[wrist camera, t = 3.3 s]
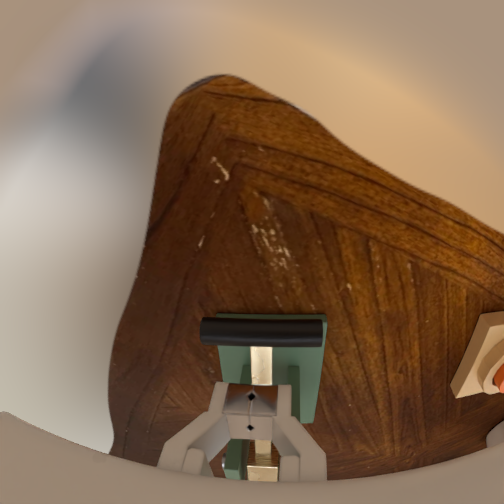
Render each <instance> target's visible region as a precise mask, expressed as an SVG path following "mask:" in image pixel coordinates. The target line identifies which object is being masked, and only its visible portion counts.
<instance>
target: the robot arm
mask: <svg viewBox="0 0 504 504" xmlns="http://www.w3.org/2000/svg"><path fill="white" fill-rule="evenodd" d="M230 438H232V439H253V440H268V441H272V442H273V444H274V445H275V447H276V448H277V450H278V452H279V453H280V455H281V456H282V458H281V462H280V474H279V482H270V481H250V480H237V479H226V478H217V477H214V476H213V473H212V470H211V468H210V465H209V462H210V461H211V460H212V459H213V458H214V457H215V456H216V455H217V453H218V452H219V451H220V450H221V449H222V448H223V447H224V446H225V445H226V444H227V443H228V442H229V441H230V440H231V439H230ZM0 504H504V442H502V443H499V444H497V445H494V446H491V447H489V448H486V449H483V450H480V451H478V452H475V453H472V454H469V455H466V456H462V457H459V458H456V459H452V460H449V461H445V462H442V463H438V464H434V465H430V466H426V467H421V468H417V469H412V470H407V471H402V472H397V473H391V474H385V475H379V476H372V477H364V478H355V479H345V480H332V481H327V469H326V454H325V452H324V451H323V450H322V449H321V448H320V447H319V445H318V444H317V443H316V442H315V441H314V439H313V438H312V437H311V436H310V435H309V433H308V432H307V431H306V430H305V428H304V427H303V426H302V425H301V424H300V422H299V421H298V420H297V419H296V417H295V416H291V385H276V384H240V383H226V382H216V384H215V387H214V391H213V395H212V398H211V402H210V406H209V410H208V412H203V413H202V414H201V415H200V416H199V417H197V418H196V419H195V420H194V421H192V422H191V423H190V424H189V425H187V426H186V427H185V428H183V429H182V430H181V431H180V432H178V433H177V434H176V435H174V436H173V437H172V438H171V439H169V440H168V441H167V442H165V444H164V447H163V450H162V453H161V456H160V459H159V461H158V464H157V467H153V466H149V465H145V464H141V463H137V462H133V461H129V460H126V459H122V458H119V457H115V456H112V455H109V454H105V453H102V452H99V451H96V450H93V449H90V448H87V447H85V446H82V445H79V444H76V443H74V442H71V441H68V440H66V439H64V438H61V437H58V436H56V435H54V434H52V433H49V432H47V431H45V430H43V429H40V428H38V427H36V426H34V425H32V424H29V423H27V422H26V421H24V420H21V419H19V418H17V417H16V416H14V415H12V414H10V413H8V412H0Z"/></svg>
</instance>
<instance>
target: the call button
mask: <svg viewBox="0 0 504 504" xmlns="http://www.w3.org/2000/svg"><path fill="white" fill-rule="evenodd" d="M503 363H504V311H500V312H492V313H484V314H480V317H479V319H478V322H477V325H476V327H475V330H474V332H473V335H472V337H471V340H470V342H469V345H468V347H467V349H466V352H465V354H464V356H463V359H462V361H461V363H460V365H459V367H458V369H457V371H456V374H455V376H454V378H453V380H452V382H451V384H450V386H451V389H452V391H453V393H454V395H455V398H459V397H464V396H468V395H472V394H476V393H480V392H485V393H488V394H494V393H497V392H500V391H499V389H498V387H497V385H496V384H495V382H494V379H493V377H494V375H495V373H496V371H497V370H498V369H499V368H500V367H501V366H502V364H503Z"/></svg>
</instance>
